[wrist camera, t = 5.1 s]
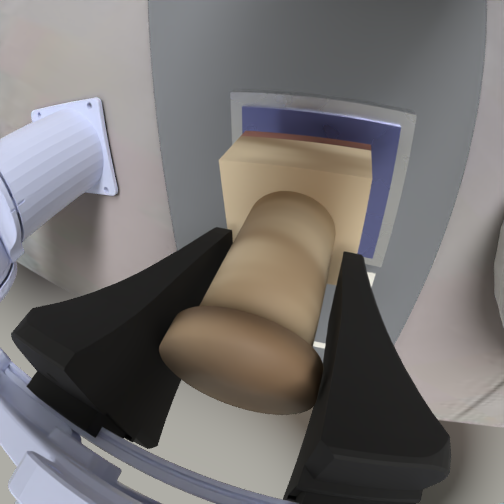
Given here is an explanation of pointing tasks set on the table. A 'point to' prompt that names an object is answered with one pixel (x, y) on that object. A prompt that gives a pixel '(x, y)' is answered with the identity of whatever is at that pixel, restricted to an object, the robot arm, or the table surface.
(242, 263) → the stamp
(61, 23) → the table surface
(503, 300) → the dish
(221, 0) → the desk mat
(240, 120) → the ink pad
